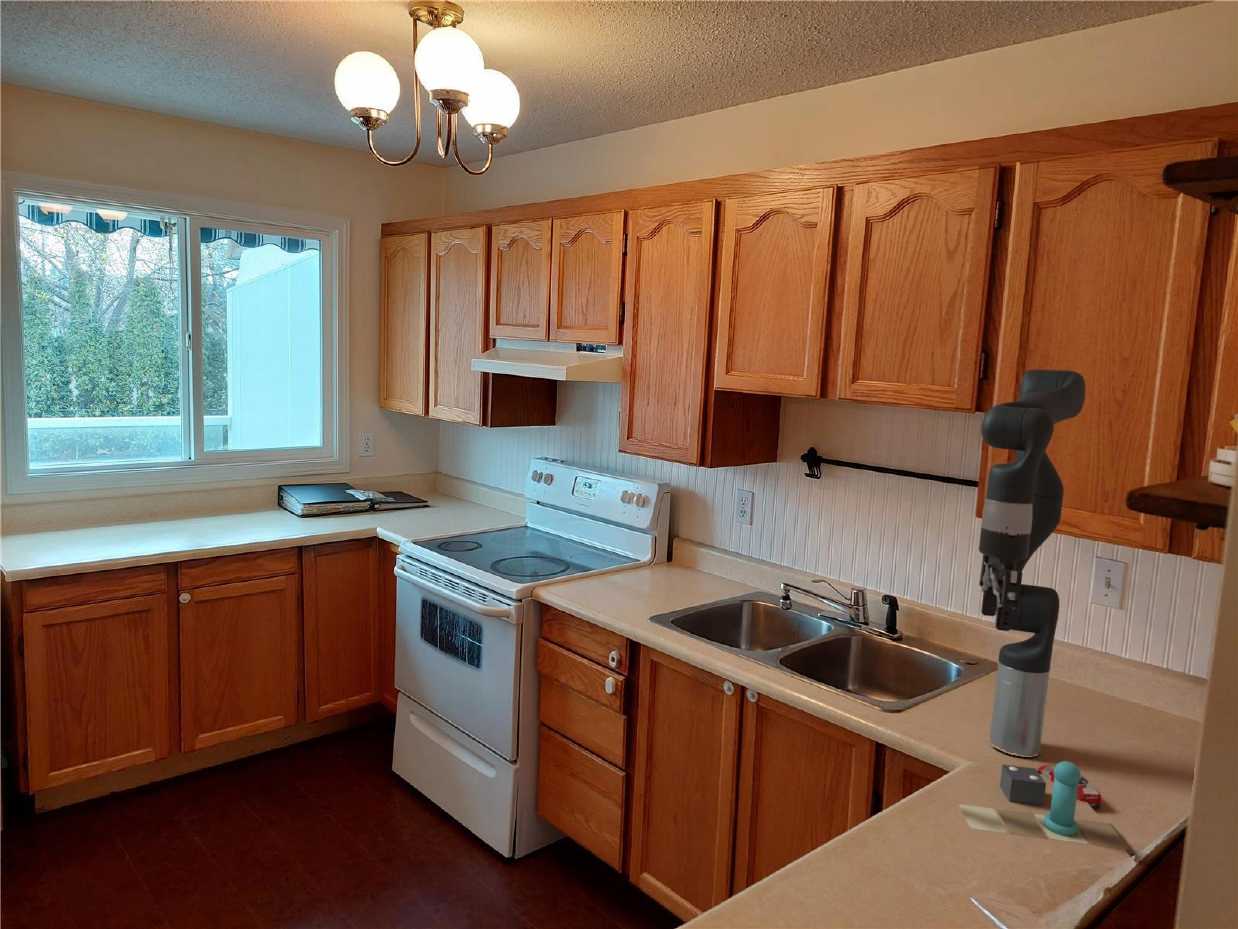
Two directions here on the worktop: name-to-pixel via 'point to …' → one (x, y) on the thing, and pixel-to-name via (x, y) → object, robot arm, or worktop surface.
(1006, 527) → the robot arm
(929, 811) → the worktop surface
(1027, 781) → the die
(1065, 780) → the pawn
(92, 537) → the worktop surface
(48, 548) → the worktop surface
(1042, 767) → the race car
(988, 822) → the track board
